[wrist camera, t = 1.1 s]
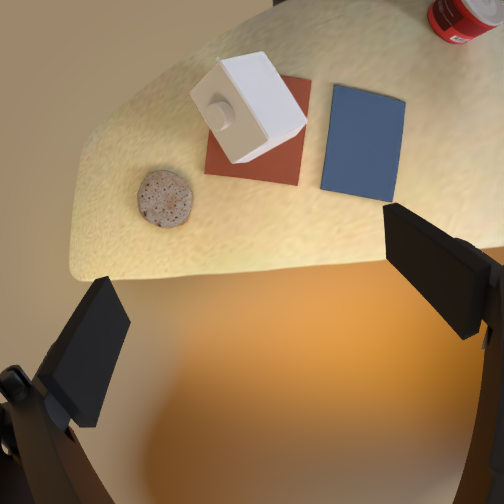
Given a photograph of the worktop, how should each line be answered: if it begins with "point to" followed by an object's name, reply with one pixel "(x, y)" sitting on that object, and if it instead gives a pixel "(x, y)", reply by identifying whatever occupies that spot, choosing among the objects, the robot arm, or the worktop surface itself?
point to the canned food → (464, 18)
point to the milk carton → (247, 106)
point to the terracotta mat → (273, 161)
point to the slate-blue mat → (363, 144)
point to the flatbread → (164, 199)
